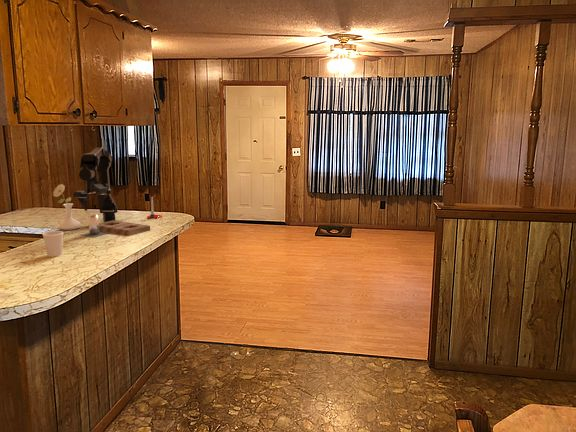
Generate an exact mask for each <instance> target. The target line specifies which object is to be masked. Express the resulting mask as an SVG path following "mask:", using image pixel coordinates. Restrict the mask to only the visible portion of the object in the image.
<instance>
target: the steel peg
mask: <svg viewBox="0 0 576 432" xmlns="http://www.w3.org/2000/svg"><path fill="white" fill-rule="evenodd" d="M87 216H88V218H87V219H88V228H89V229H88V231H89V232H90V235H99V234H100V232H101V231H99V223H100V222H99V221H100V220H99V214H95V213H94V214H92V213H91V214H88V215H87ZM89 232H88V233H89Z"/></svg>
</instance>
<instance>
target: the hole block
mask: <svg viewBox="0 0 576 432" xmlns="http://www.w3.org/2000/svg"><path fill="white" fill-rule="evenodd" d="M115 220H116V219H115ZM115 220H112V221H108V222H103V221H102V222H103V223H101V222H99V231H100V232H106V233H110V234H111V233H113V234H118V235H123V236H124V235H125V236H130V237H131V236H133V235H137V234H141V233H145V232H151V225H149V224H141V223H135V222H129V221H122V220H121V221H120V220H116V221H115Z"/></svg>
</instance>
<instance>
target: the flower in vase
mask: <svg viewBox="0 0 576 432" xmlns="http://www.w3.org/2000/svg"><path fill="white" fill-rule="evenodd" d="M65 187H66V186H65V185H64V184H63V183H60V184H58V185H57V186H56V187H55V188H54V190H53V192H52V196H53V197H56V198H57V197H59V196H61V195H62V197H63V198H60V199H59V200H58V201H57V203H58V204H62V203H64V202H65V203H64V204H63V206H64V208H65V212H66V218H65V219H64V220H63V221H62V222H61V223H60V224H59V225H58V228H59V229H60V230H65V231H69V230H70V231H71V230H76V229H79V228H81V227H82V224H81V222H80V221H78V220H76V219H75V218H73V215H72V207H73V206H74V203H71V201H72V197H71V196H69V197H67V198H66V199H65V196H64V194H63V193H64V192H65Z"/></svg>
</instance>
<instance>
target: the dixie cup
mask: <svg viewBox="0 0 576 432" xmlns="http://www.w3.org/2000/svg"><path fill="white" fill-rule="evenodd" d="M41 235H42V236H43V237H42V238H43V241H44V245H45V246H44V247H45V250H46V254H47V257H49V256H50V258H55V256H57V257H61V256H63V241H64V239H63V238H64V231H62V230H49V231H45V232H43V233H42V234H41ZM60 255H61V256H60Z"/></svg>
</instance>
